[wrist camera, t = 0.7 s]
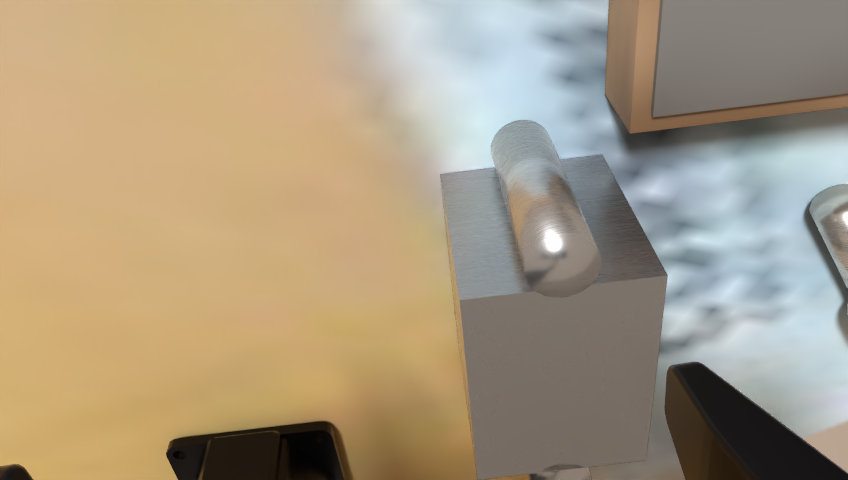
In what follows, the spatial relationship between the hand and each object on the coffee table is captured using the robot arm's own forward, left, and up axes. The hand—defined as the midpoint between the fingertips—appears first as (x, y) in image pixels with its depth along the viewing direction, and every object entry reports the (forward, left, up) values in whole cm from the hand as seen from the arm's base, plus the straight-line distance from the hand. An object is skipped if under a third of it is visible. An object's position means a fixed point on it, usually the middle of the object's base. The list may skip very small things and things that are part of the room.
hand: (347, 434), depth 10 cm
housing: (-7, -4, -13) cm, 15 cm away
